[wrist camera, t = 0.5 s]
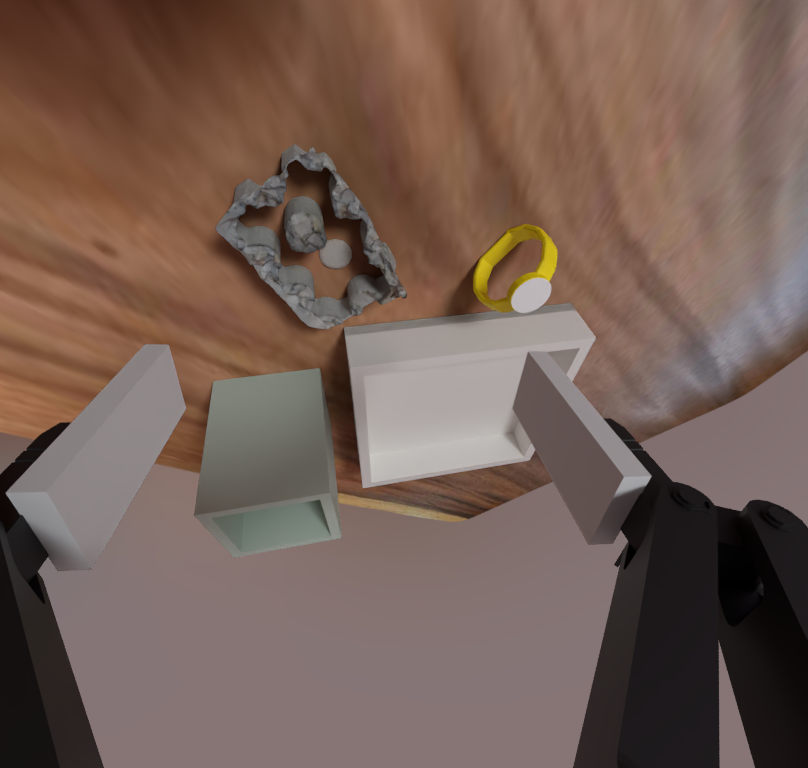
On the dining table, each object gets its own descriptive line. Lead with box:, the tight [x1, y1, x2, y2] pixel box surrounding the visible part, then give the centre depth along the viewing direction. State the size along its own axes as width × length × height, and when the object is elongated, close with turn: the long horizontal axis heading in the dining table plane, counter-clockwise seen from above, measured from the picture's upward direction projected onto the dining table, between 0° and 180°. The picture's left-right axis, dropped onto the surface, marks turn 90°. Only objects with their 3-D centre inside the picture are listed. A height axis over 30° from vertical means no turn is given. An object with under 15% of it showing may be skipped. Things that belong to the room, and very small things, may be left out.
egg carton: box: [215, 144, 407, 329], centre depth 25 cm, size 11×8×4 cm
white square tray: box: [344, 303, 596, 488], centre depth 40 cm, size 20×20×4 cm
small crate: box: [194, 368, 342, 557], centre depth 34 cm, size 9×9×12 cm
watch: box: [473, 224, 557, 313], centre depth 28 cm, size 6×3×6 cm, turn 139°
